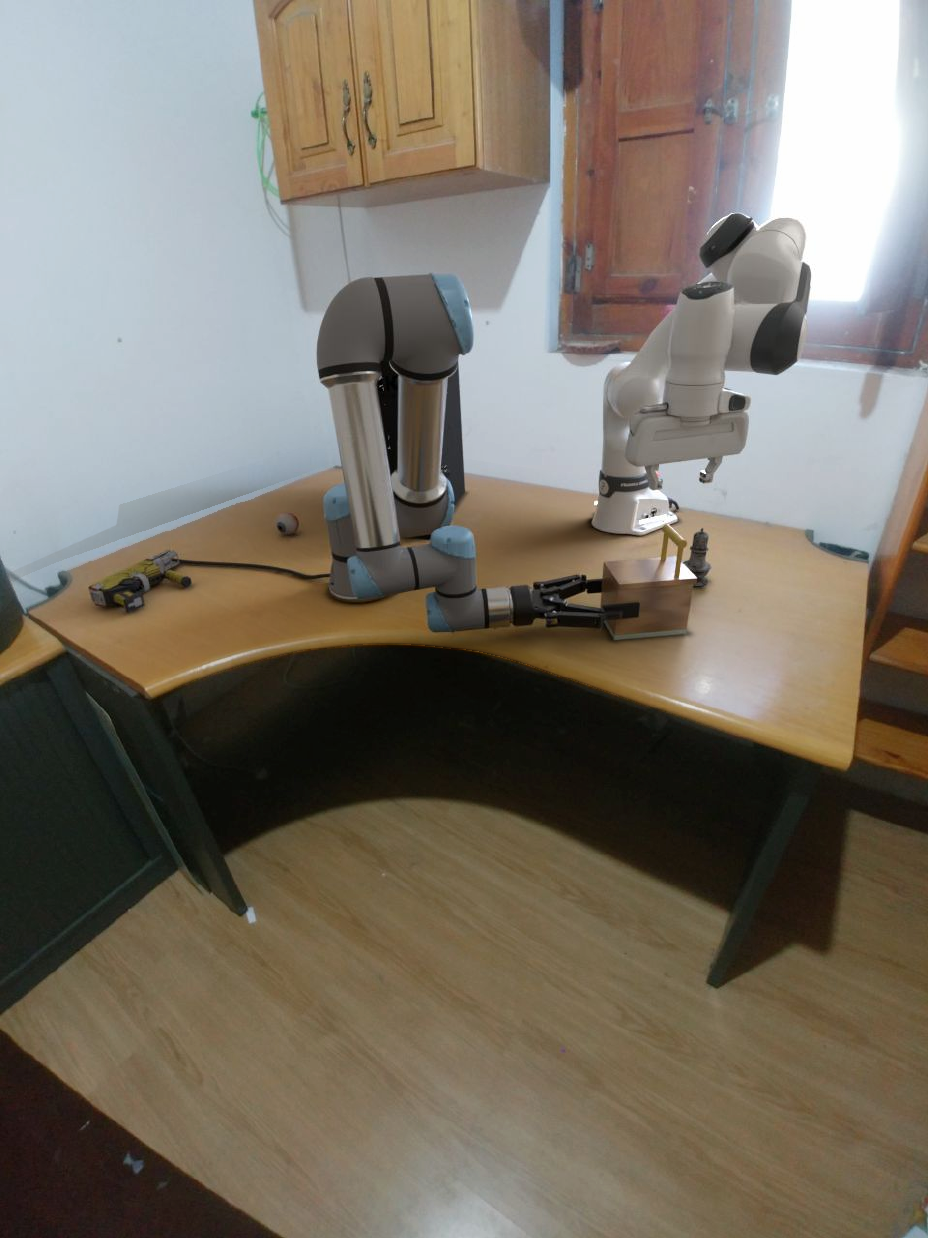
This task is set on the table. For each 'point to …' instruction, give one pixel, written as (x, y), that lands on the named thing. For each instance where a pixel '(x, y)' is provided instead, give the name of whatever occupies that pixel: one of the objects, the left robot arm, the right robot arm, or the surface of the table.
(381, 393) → the black box
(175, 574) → the toy gun
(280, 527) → the eyeball
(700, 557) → the salt shaker
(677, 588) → the chest
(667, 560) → the lid
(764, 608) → the table surface
